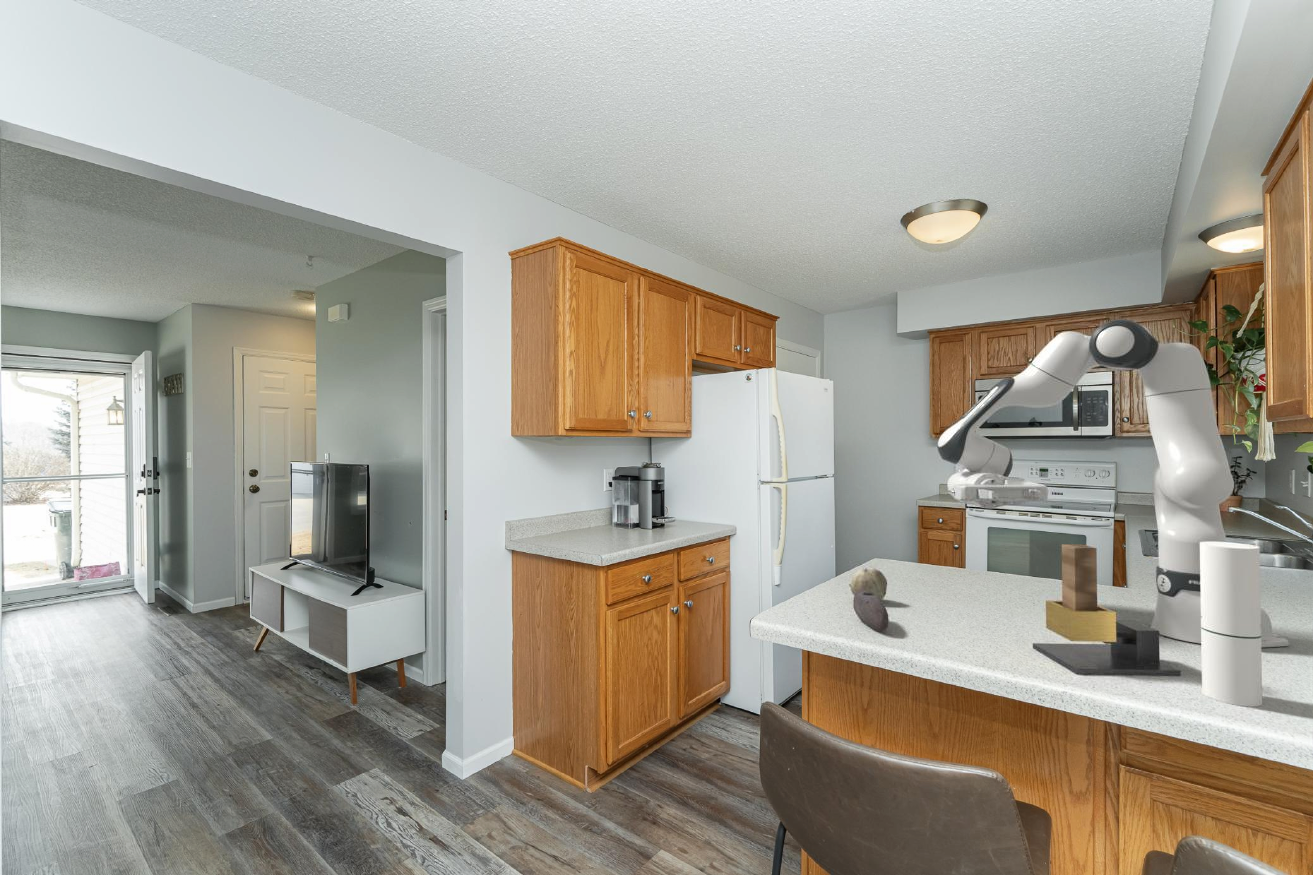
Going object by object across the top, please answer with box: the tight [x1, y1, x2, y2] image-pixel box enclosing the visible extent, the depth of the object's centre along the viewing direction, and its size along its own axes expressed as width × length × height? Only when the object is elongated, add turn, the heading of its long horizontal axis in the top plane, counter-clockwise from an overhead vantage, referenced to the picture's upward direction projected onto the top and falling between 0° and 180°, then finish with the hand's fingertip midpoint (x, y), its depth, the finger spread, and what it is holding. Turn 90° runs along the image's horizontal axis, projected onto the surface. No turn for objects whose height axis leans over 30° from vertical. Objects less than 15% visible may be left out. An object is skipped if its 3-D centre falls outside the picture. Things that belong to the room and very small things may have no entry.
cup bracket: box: [1032, 600, 1182, 677], centre depth 115 cm, size 18×14×10 cm
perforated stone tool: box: [852, 590, 889, 632], centre depth 139 cm, size 15×5×7 cm, turn 178°
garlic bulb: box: [848, 567, 888, 601], centre depth 160 cm, size 9×8×10 cm
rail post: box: [1061, 544, 1098, 611], centre depth 116 cm, size 4×4×16 cm
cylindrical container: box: [1200, 541, 1263, 708], centre depth 99 cm, size 7×7×25 cm
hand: (1016, 495), depth 138 cm, fingers open, 8 cm apart
